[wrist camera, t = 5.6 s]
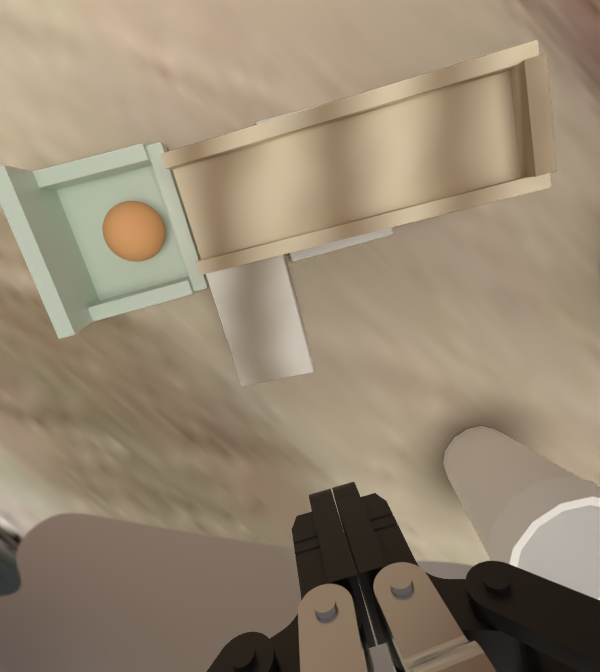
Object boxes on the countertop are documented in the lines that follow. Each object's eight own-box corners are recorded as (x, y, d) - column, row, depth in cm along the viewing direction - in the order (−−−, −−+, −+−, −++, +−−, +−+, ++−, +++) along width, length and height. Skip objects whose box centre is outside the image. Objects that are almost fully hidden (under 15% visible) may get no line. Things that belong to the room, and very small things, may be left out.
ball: (162, 193, 31) (139, 193, 28) (181, 249, 32) (161, 257, 29) (110, 208, 32) (81, 210, 28) (130, 263, 33) (104, 272, 29)
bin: (166, 147, 32) (146, 128, 25) (210, 283, 34) (202, 299, 28) (41, 180, 31) (-15, 169, 25) (95, 314, 34) (58, 338, 27)
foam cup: (435, 409, 40) (524, 497, 27) (531, 410, 41) (657, 495, 29) (421, 502, 42) (496, 622, 30) (511, 501, 43) (620, 615, 31)
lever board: (506, 63, 26) (544, 34, 21) (533, 309, 30) (570, 332, 25) (186, 159, 29) (154, 152, 24) (250, 368, 33) (234, 399, 28)
